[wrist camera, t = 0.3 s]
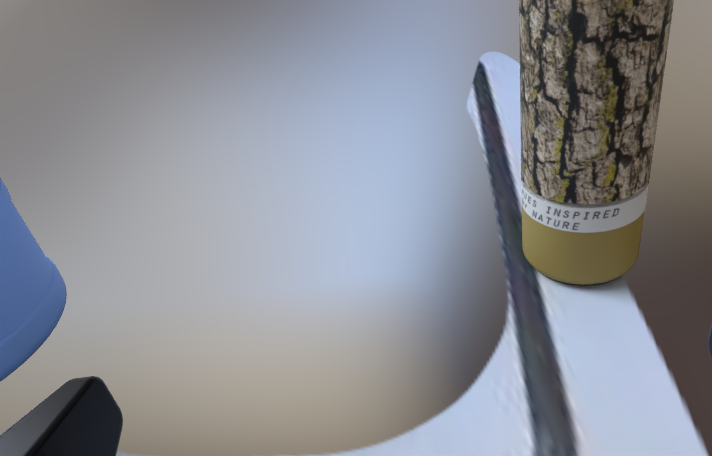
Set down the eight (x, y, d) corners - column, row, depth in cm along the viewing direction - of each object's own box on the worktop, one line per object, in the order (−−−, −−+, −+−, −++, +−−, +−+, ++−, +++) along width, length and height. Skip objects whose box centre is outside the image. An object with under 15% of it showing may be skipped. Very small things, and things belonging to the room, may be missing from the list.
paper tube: (649, 290, 31) (744, -306, 17) (524, 291, 32) (520, -249, 19) (625, 223, 36) (683, -271, 22) (519, 226, 38) (513, -228, 24)
